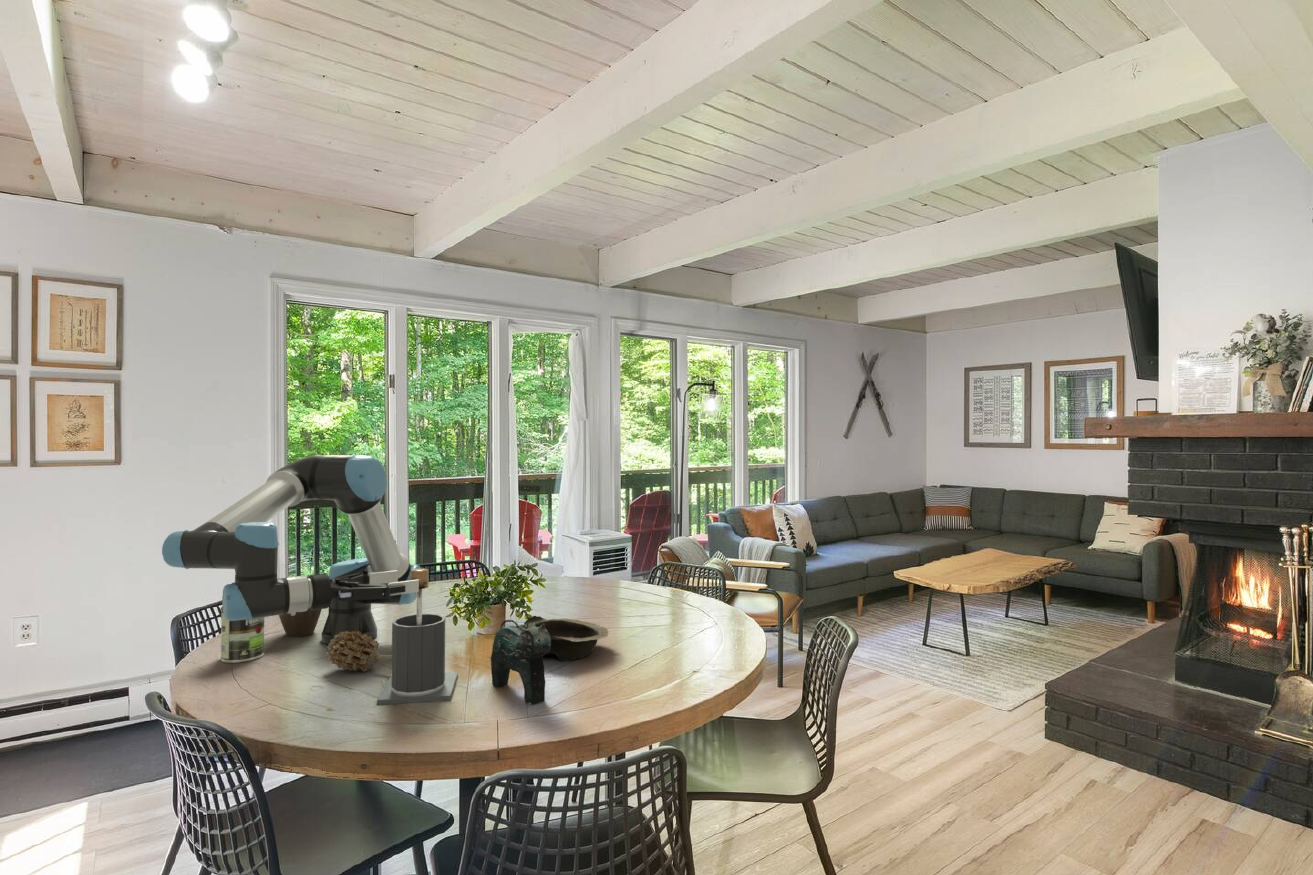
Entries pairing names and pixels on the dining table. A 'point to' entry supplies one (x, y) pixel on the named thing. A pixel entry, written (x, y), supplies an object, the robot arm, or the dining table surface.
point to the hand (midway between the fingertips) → (407, 580)
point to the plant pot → (300, 622)
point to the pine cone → (354, 651)
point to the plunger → (420, 589)
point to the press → (418, 662)
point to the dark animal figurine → (521, 658)
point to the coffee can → (241, 639)
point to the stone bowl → (569, 636)
